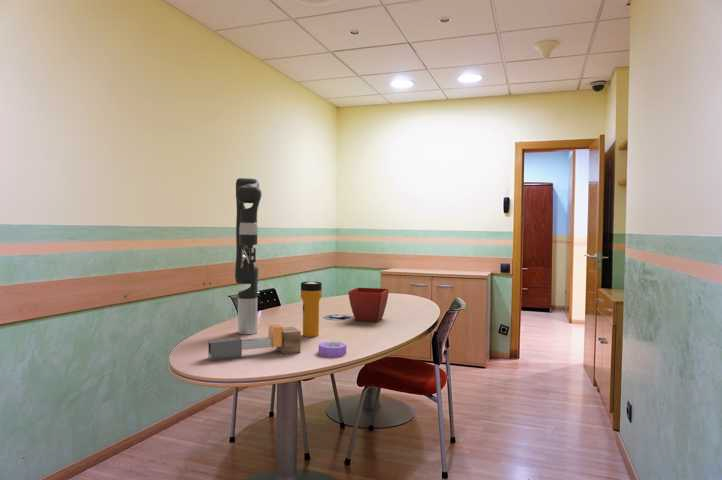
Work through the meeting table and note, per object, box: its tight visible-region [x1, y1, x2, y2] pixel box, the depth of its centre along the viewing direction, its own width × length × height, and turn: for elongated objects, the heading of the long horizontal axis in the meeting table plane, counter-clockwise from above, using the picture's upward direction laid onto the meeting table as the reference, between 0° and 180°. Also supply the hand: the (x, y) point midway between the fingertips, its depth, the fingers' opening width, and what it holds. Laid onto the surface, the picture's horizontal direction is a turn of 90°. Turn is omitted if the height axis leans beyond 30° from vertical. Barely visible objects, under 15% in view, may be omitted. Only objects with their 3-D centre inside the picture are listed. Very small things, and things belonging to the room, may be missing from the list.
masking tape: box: [318, 340, 348, 358], centre depth 208 cm, size 12×12×4 cm
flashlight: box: [300, 281, 323, 338], centre depth 240 cm, size 10×26×10 cm
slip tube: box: [241, 323, 283, 351], centre depth 205 cm, size 6×23×8 cm, turn 118°
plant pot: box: [348, 287, 390, 323], centre depth 282 cm, size 19×19×17 cm
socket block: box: [276, 326, 302, 355], centre depth 210 cm, size 10×7×9 cm
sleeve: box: [207, 336, 243, 362], centre depth 198 cm, size 5×12×7 cm, turn 118°
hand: (248, 271), depth 212 cm, fingers open, 8 cm apart
